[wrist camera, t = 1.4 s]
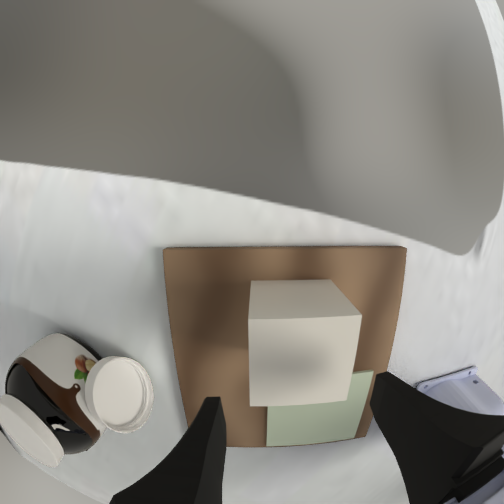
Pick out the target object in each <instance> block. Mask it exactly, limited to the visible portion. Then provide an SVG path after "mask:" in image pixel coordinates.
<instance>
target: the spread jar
mask: <svg viewBox="0 0 504 504" xmlns="http://www.w3.org/2000/svg"><path fill="white" fill-rule="evenodd" d="M153 400H154V394H153V386H152V382H151V380H150V377H149V375H148V373H147V372H146V370H145V369H144V368H143V366H142V365H140V364H139V363H138V362H137V361H135V360H133V359H131V358H128V357H118V356H110V357H106V358H103V359H102V358H101V357H100V356H99V354H98V353H97V352H95V351H94V350H93V349H92V348H91V347H90V346H88V345H87V344H85V343H84V342H82V341H80V340H78V339H76V338H74V337H72V336H69V335H66V334H60V333H55V334H51V335H48V336H46V337H44V338H42V339H41V340H39V341H38V342H36V343H35V344H33V345H32V346H31V347H29V348H28V349H27V350H25V351H24V352H23V353H22V354H21V355H19V356H18V357H17V359H16V360H15V361H14V362H13V363H12V365H11V366H10V368H9V370H8V373H7V376H6V382H5V395H3V396H2V397H1V398H0V423H1V425H2V426H3V428H4V429H5V430H6V432H7V433H8V434H9V436H10V437H11V438H12V439H13V440H14V441H15V442H16V443H17V444H18V445H19V446H20V447H21V448H22V449H23V450H24V451H25V452H26V453H27V454H29V455H30V456H31V457H33V458H34V459H35V460H37V461H39V462H40V463H42V464H44V465H46V466H49V467H57V466H58V464H59V463H60V461H61V460H62V458H63V457H64V455H65V454H77V453H81V452H83V451H87V450H88V449H89V448H91V447H92V446H93V445H94V444H95V443H96V442H97V441H98V439H99V438H100V437H101V436H102V434H103V433H104V431H105V429H106V428H108V429H111V430H113V431H116V432H119V433H130V432H133V431H136V430H138V429H139V428H140V427H142V426H143V425H144V423H145V422H146V421H147V419H148V418H149V416H150V413H151V411H152V407H153Z"/></svg>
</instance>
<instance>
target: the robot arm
mask: <svg viewBox="0 0 504 504" xmlns="http://www.w3.org/2000/svg"><path fill="white" fill-rule="evenodd" d="M477 369H478V368H477V367H476V366H474V367H471V368H468V369H465V370H462V371H459V372H456V373H453V374H450V375H447V376H443V377H440V378H436V379H433V380H429V381H425V382H422V383H420V384H419V385H418V386H417V388H416V389H415V388H413V387H412V386H410V385H409V384H407V383H405V382H404V381H402V380H401V379H399V378H397V377H396V376H394V375H393V374H391V373H389V372H388V371H386V372H383V373H379V374H376V378H375V382H374V387H373V391H372V395H371V400H370V407H371V410H372V413H373V415H374V418H375V420H376V422H377V424H378V426H379V428H380V430H381V431H382V433H383V435H384V437H385V439H386V440H387V442H388V444H389V446H390V447H391V449H392V451H393V453H394V455H395V457H396V460H397V462H398V465H399V468H400V470H401V473H402V476H403V480H404V483H405V486H406V490H407V494H408V498H409V503H410V504H504V403H503V401H502V399H501V398H500V397H499V396H498V395H497V394H496V393H495V392H494V391H493V390H492V389H491V388H490V387H489V386H488V385H487V384H486V383H485V382H484V381H483V380H481V379H480V378H479V377H478V376H477V375H476V372H477ZM226 445H227V433H226V421H225V417H224V412H223V407H222V402H221V397H220V396H218V397H206V398H205V399H204V401H203V403H202V405H201V407H200V409H199V411H198V413H197V415H196V417H195V418H194V420H193V422H192V423H191V425H190V427H189V428H188V430H187V431H186V433H185V434H184V435H183V437H182V438H181V440H180V441H179V442H178V444H177V445H176V446H175V447H174V448H173V450H172V451H171V452H170V453H169V454H168V455H167V456H166V457H165V458H164V459H163V460H162V461H161V462H160V463H159V464H158V465H157V466H156V467H155V468H154V469H153V470H152V471H150V472H149V473H148V474H146V475H145V476H144V477H142V478H141V479H140V480H138V481H137V482H136V483H134V484H133V485H131V486H129V487H128V488H126V489H124V490H122V491H121V492H119V493H117V494H115V495H113V497H112V500H111V501H110V503H109V504H222V481H223V472H224V463H225V454H226Z"/></svg>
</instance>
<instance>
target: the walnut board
mask: <svg viewBox="0 0 504 504" xmlns="http://www.w3.org/2000/svg"><path fill="white" fill-rule="evenodd" d="M406 253H407V248H405V247H402V246H290V247H176V248H165V249H164V250H163V260H164V273H165V284H166V294H167V303H168V312H169V320H170V328H171V336H172V343H173V349H174V356H175V362H176V368H177V374H178V379H179V385H180V390H181V395H182V400H183V405H184V410H185V415H186V419H187V424H188V428H189V427H190V425H191V423H192V422H193V420H194V418H195V417H196V415H197V413H198V411H199V409H200V407H201V405H202V403H203V401H204V399H205V398H206V397H218V396H220V397H221V402H222V407H223V412H224V417H225V421H226V433H227V445H226V447H266V442H267V413H268V406H250V388H249V337H248V315H249V302H250V288H251V281H264V280H323V279H330V280H331V281H332V282H333V283H334V284H335V285H336V286H337V287H338V288H339V290H340V291H341V292H342V293H343V294H344V295H345V296H346V297H347V298H348V300H349V301H350V302H351V303H352V304H353V305H354V306H355V307H356V309H357V310H358V311H359V312H360V313H361V314H362V319H361V326H360V333H359V339H358V345H357V351H356V357H355V362H354V367H353V372H358V371H365V370H372V369H373V371H374V372H373V376H372V380H371V384H370V388H369V392H368V395H367V399H366V402H365V406H364V409H363V412H362V416H361V419H360V422H359V425H358V428H357V431H356V434H355V437H354V438H351V439H355V438H361V437H365V436H366V434H367V431H368V428H369V426H370V423H371V420H372V417H373V413H372V410H371V407H370V400H371V395H372V391H373V387H374V382H375V378H376V374H379V373H383V372H386V371H387V367H388V363H389V359H390V354H391V350H392V346H393V341H394V336H395V331H396V326H397V321H398V315H399V309H400V303H401V296H402V289H403V282H404V273H405V264H406ZM345 440H349V439H345ZM339 441H343V440H339ZM332 442H337V441H332ZM324 443H329V442H324ZM315 444H321V443H315ZM305 445H312V444H305ZM291 446H301V445H291ZM267 447H286V446H267Z"/></svg>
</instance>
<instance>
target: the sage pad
mask: <svg viewBox="0 0 504 504" xmlns="http://www.w3.org/2000/svg"><path fill="white" fill-rule="evenodd" d="M373 372H374V371H373V369H372V370H365V371H358V372H352V377H351V382H350V387H349V391H348V396H347V400H345V401H337V402H328V403H318V404H305V405H289V406H268V413H267V442H266V447H267V446H291V445H305V444H315V443H324V442H332V441H339V440H345V439H351V438H354V437H355V434H356V431H357V428H358V425H359V422H360V419H361V416H362V412H363V409H364V406H365V402H366V399H367V395H368V392H369V388H370V384H371V380H372V376H373Z"/></svg>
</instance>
